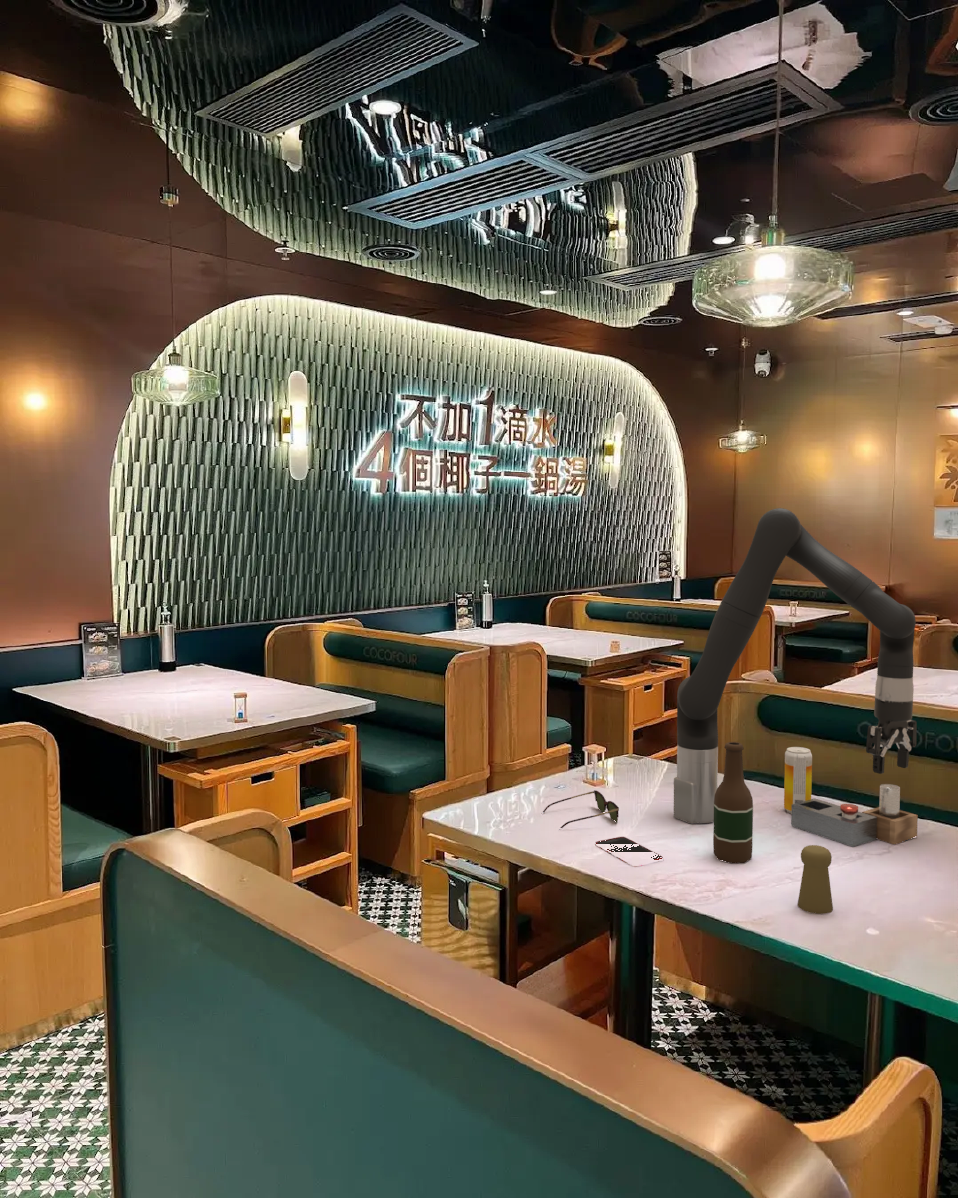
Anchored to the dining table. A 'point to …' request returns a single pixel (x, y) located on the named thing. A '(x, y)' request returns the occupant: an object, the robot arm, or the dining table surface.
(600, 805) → the sunglasses
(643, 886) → the dining table surface
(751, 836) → the beer bottle
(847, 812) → the copper-capped cylinder
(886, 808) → the gray round-topped cylinder
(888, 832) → the wooden hollow square frame
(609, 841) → the cell phone
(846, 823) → the socket block
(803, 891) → the olive knobbed peg
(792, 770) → the beer can
